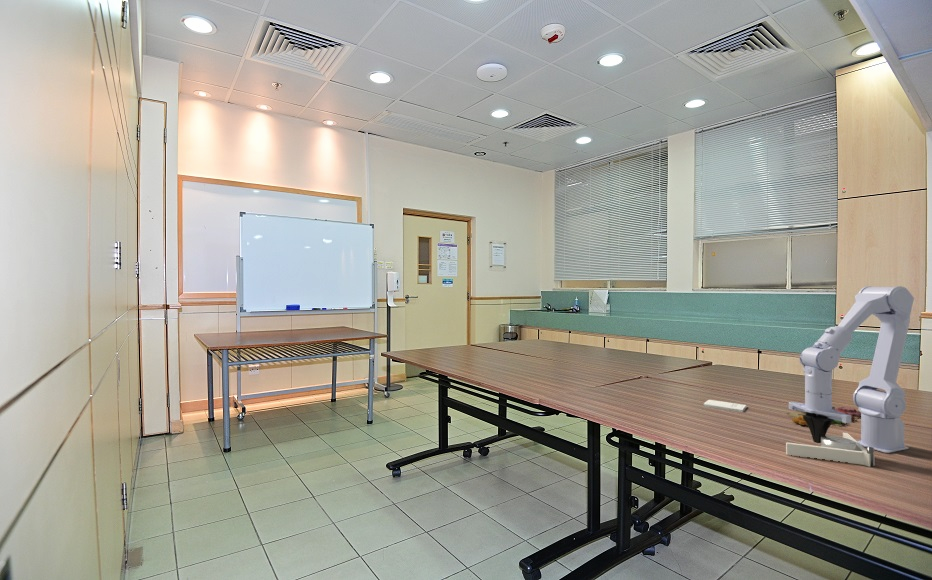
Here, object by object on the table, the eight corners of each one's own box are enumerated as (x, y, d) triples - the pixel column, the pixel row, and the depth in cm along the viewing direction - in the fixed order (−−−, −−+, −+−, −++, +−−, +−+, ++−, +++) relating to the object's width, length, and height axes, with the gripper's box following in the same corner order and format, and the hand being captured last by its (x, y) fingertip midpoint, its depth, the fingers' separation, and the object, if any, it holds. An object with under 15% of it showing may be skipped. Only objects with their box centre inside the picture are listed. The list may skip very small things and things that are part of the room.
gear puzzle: (829, 434, 134) (829, 421, 134) (769, 421, 148) (769, 408, 147) (866, 417, 150) (866, 405, 150) (810, 407, 164) (810, 396, 164)
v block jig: (844, 442, 125) (844, 426, 125) (903, 459, 113) (903, 442, 113) (784, 453, 117) (784, 436, 117) (840, 473, 105) (840, 454, 105)
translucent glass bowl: (831, 449, 120) (831, 434, 120) (862, 458, 114) (862, 442, 114) (814, 452, 118) (814, 437, 118) (844, 462, 111) (844, 446, 111)
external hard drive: (708, 403, 171) (746, 408, 163) (703, 407, 164) (742, 413, 156) (708, 399, 171) (746, 404, 163) (703, 403, 164) (742, 409, 156)
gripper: (781, 387, 126) (781, 435, 126) (838, 399, 112) (838, 453, 112) (798, 385, 128) (798, 432, 128) (856, 397, 114) (856, 449, 115)
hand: (818, 442), depth 120 cm, fingers closed
